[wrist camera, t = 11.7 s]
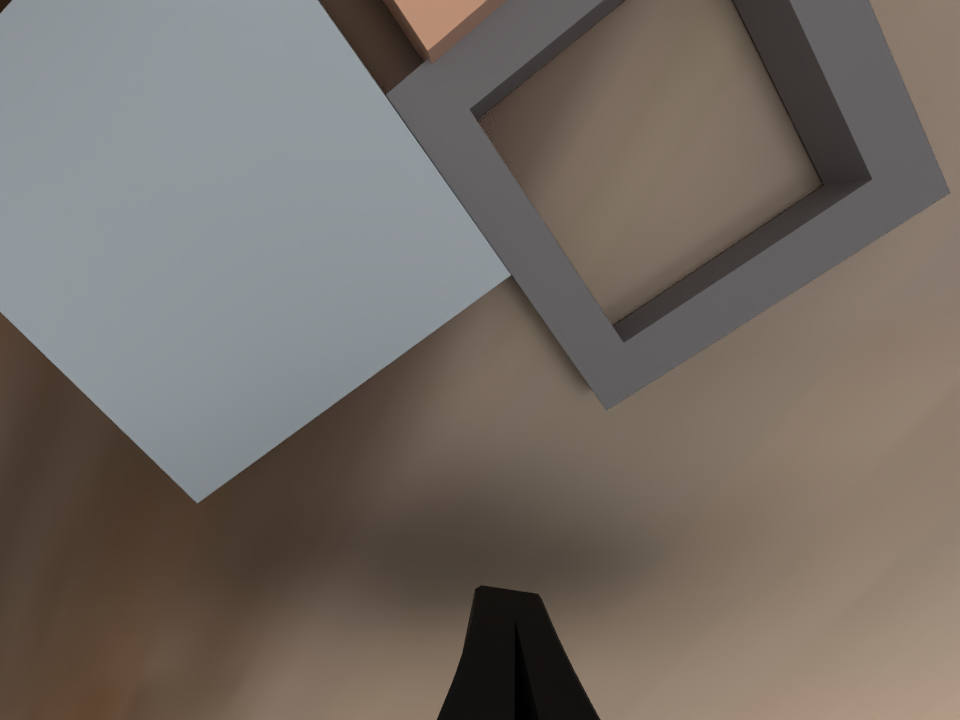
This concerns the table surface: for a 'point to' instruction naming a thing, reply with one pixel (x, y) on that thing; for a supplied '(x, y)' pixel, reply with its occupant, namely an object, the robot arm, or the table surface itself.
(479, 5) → the tray
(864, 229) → the socket
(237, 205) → the plate
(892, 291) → the table surface
